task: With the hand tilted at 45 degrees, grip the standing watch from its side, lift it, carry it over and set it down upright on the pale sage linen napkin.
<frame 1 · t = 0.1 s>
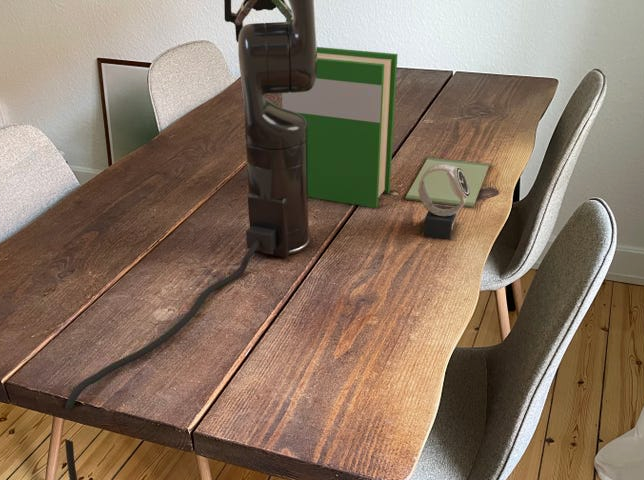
hand: (265, 43, 138), 22 cm above the table, tool pointing down, fingers open, 8 cm apart
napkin: (448, 181, 140), on the table
watch: (439, 231, 124), on the table
hardback book: (337, 193, 138), on the table
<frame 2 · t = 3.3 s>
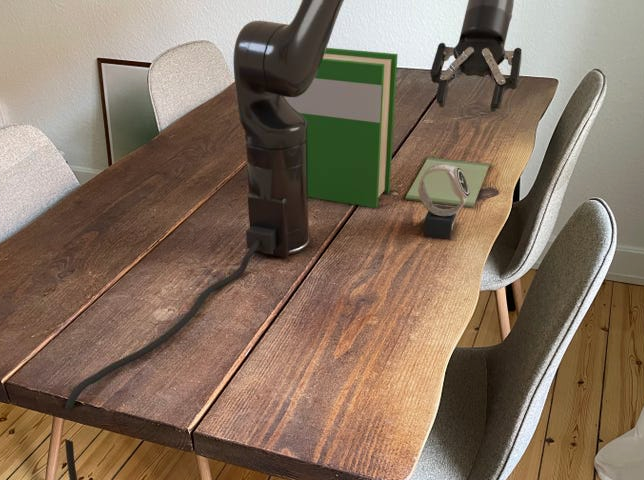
hand: (466, 107, 125), 16 cm above the table, tool tilted 45°, fingers open, 8 cm apart
nothing on the table moved.
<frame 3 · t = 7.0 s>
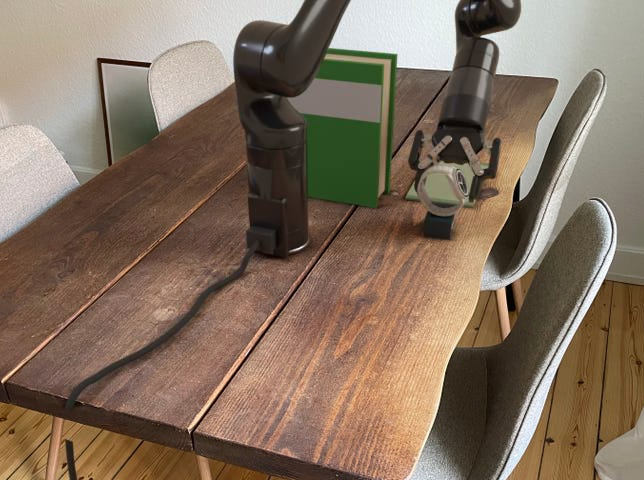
hand: (444, 197, 121), 6 cm above the table, tool tilted 45°, fingers closed on watch, 8 cm apart
watch: (439, 229, 124), on the table, touching gripper
everything else where it was.
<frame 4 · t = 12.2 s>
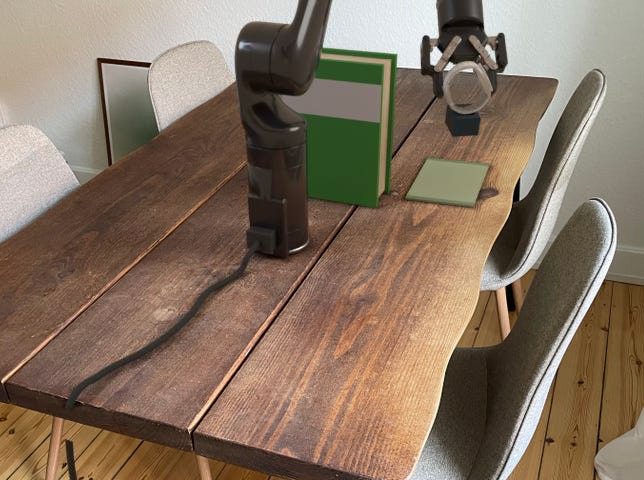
hand: (466, 95, 125), 18 cm above the table, tool tilted 45°, fingers closed on watch, 8 cm apart
watch: (461, 129, 128), point 12 cm above the table, touching gripper
everything else where it was.
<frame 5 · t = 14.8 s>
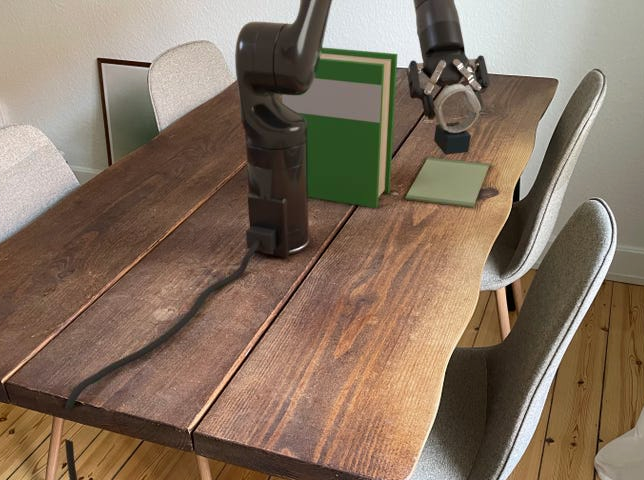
hand: (454, 115, 133), 12 cm above the table, tool tilted 45°, fingers closed on watch, 8 cm apart
watch: (451, 147, 136), point 7 cm above the table, touching gripper
everything else where it was.
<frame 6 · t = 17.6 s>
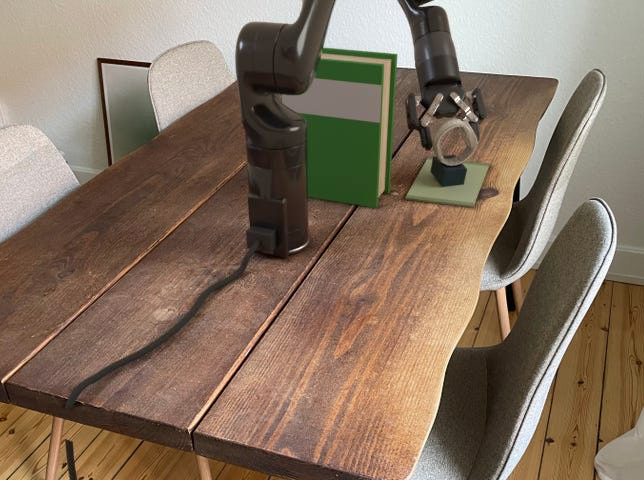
hand: (451, 146, 137), 7 cm above the table, tool tilted 45°, fingers closed on watch, 8 cm apart
watch: (447, 178, 140), point 1 cm above the table, touching gripper
everything else where it was.
when the fingers open (7 cm above the table, at t = 17.6 s): watch stays where it is, resting on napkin.
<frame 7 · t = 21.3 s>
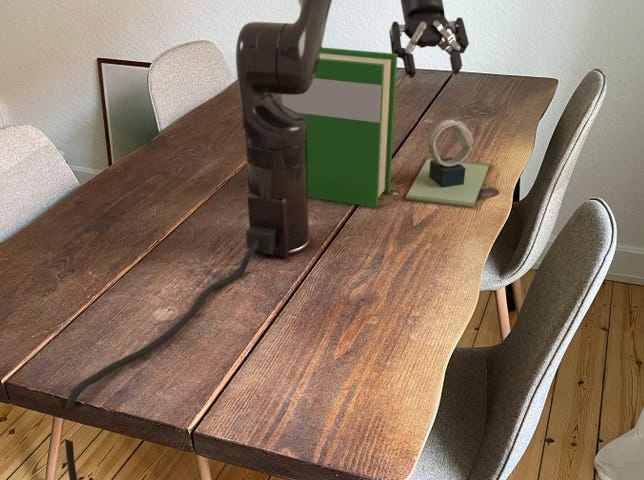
hand: (434, 74, 140), 16 cm above the table, tool tilted 45°, fingers open, 8 cm apart
watch: (446, 181, 140), resting on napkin
everything else where it was.
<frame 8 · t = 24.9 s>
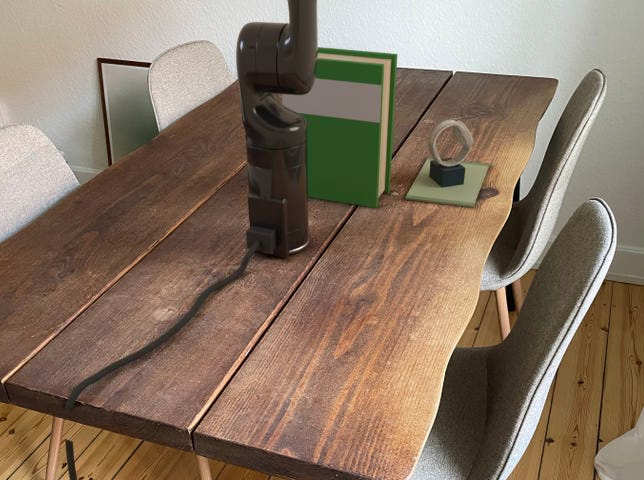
nothing on the table moved.
at the end: watch inside the target area on the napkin (0.6 cm from its centre), point 0.2 cm above the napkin's base; watch tilted 0°; the gripper is holding nothing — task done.
